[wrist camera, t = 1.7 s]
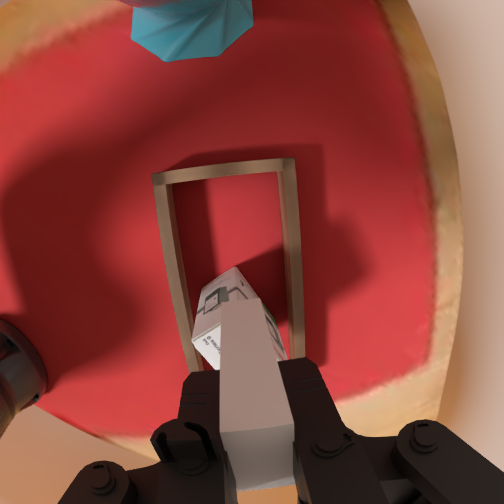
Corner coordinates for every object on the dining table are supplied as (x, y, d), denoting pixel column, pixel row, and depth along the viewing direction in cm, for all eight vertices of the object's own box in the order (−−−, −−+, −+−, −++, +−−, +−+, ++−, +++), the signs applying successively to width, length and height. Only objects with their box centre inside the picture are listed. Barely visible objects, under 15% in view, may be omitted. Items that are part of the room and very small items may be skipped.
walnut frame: (199, 387, 37) (198, 404, 33) (159, 173, 30) (151, 173, 26) (299, 374, 38) (305, 391, 34) (286, 158, 31) (294, 157, 27)
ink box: (277, 320, 35) (299, 381, 24) (242, 341, 36) (250, 408, 24) (235, 263, 33) (241, 310, 22) (199, 287, 33) (187, 343, 22)
